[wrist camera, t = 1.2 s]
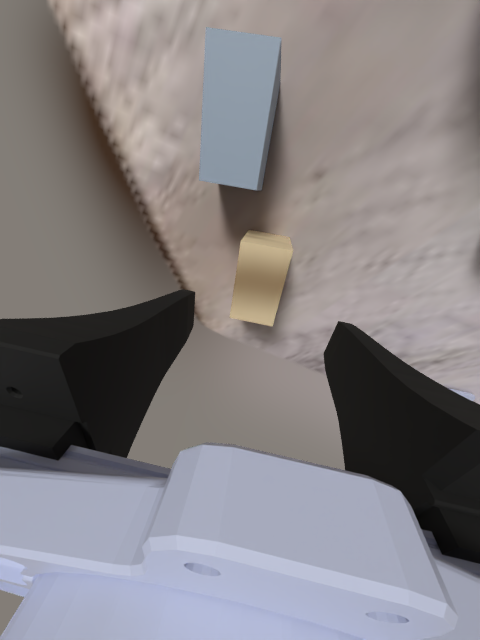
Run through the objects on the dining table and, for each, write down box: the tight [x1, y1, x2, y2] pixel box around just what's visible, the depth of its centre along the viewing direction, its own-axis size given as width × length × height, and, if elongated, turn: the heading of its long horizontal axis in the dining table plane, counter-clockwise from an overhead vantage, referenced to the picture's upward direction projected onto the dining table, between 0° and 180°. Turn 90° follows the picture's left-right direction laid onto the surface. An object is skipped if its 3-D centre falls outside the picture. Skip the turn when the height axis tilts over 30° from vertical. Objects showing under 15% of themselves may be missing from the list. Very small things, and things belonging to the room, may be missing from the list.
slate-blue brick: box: [199, 27, 281, 190], centre depth 14 cm, size 6×4×5 cm, turn 171°
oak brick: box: [230, 230, 293, 326], centre depth 18 cm, size 6×4×5 cm, turn 171°
